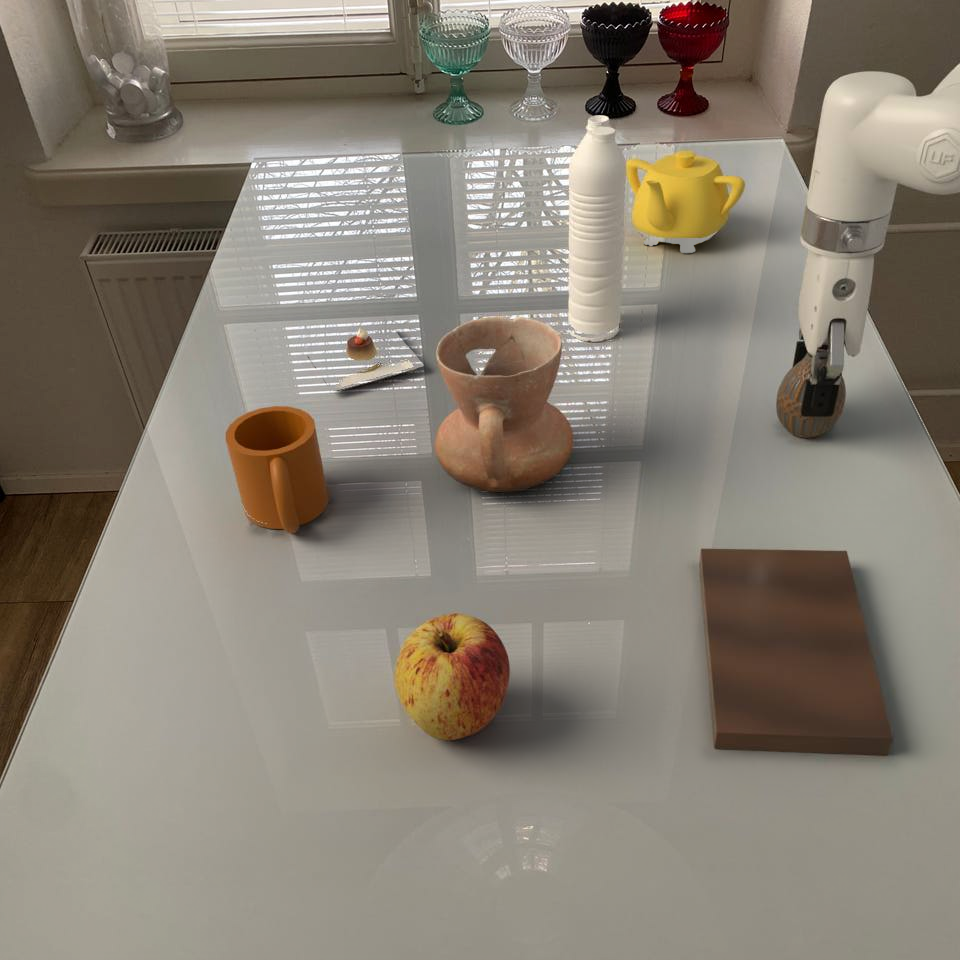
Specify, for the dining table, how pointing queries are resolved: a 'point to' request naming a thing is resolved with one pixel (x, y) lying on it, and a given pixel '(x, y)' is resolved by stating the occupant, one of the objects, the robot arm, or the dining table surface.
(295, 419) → the mug
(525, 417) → the ceramic jug
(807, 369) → the vase
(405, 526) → the dining table surface
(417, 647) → the apple
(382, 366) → the pudding and tray
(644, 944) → the dining table surface
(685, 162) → the teapot
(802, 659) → the walnut board
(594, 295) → the water bottle
